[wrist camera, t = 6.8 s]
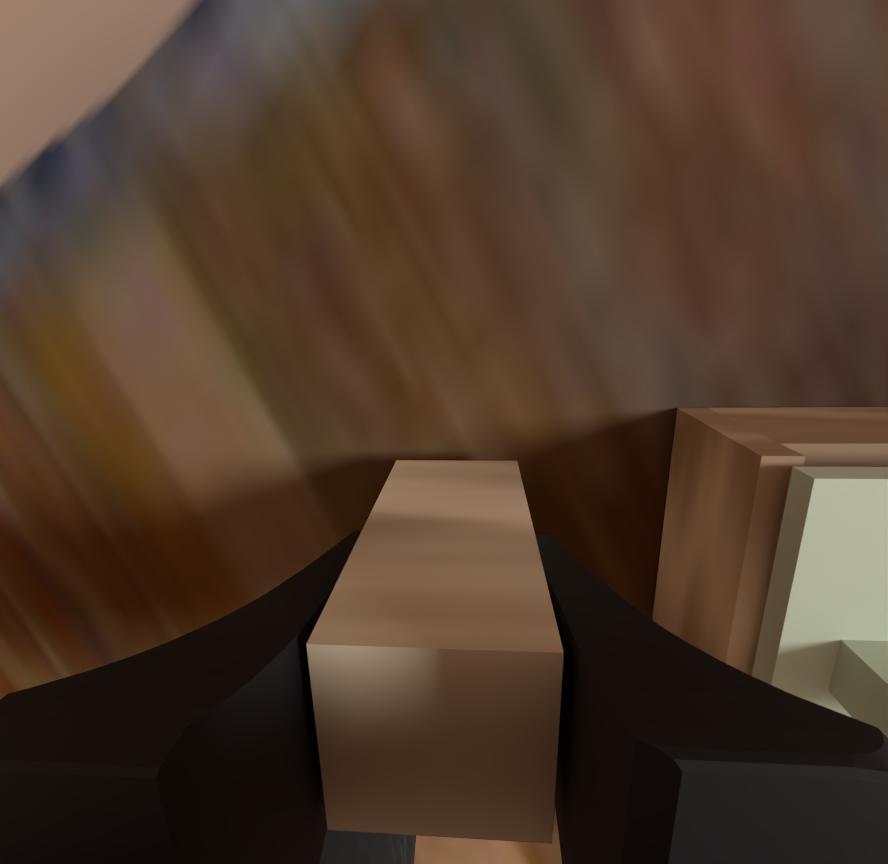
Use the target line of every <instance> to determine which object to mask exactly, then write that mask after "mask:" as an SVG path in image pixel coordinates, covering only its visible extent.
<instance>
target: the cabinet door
mask: <svg viewBox="0 0 888 864" xmlns="http://www.w3.org/2000/svg"><path fill="white" fill-rule="evenodd" d="M752 676H753V677H755V678H757V679H759V680H761V681H764V682H766V683H768V684H770V685H772V686H775V687H777V688H779V689H781V690H783V691H786V692H788V693H790V694H793V695H795V696H797V697H800V698H802V699H805V700H808V701H810V702H813V703H815V704H818V705H821V706H823V707H826V708H828V709H831V710H833V711H836V712H839V713H841V714H844V715H846V716H849V717H852V718H854V719H857V720H859V721H862V722H865V723H867V724H870V725H872V726H875V727H877V728H879V729H880V730H881V731H882V732H883V733H884V734H885V736H886V737H887V738H888V467H792V472H791V477H790V482H789V487H788V493H787V498H786V503H785V508H784V513H783V518H782V523H781V528H780V533H779V539H778V544H777V549H776V554H775V559H774V564H773V569H772V574H771V580H770V585H769V590H768V595H767V600H766V605H765V610H764V615H763V621H762V626H761V631H760V636H759V641H758V646H757V651H756V656H755V662H754V667H753V672H752Z"/></svg>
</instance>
